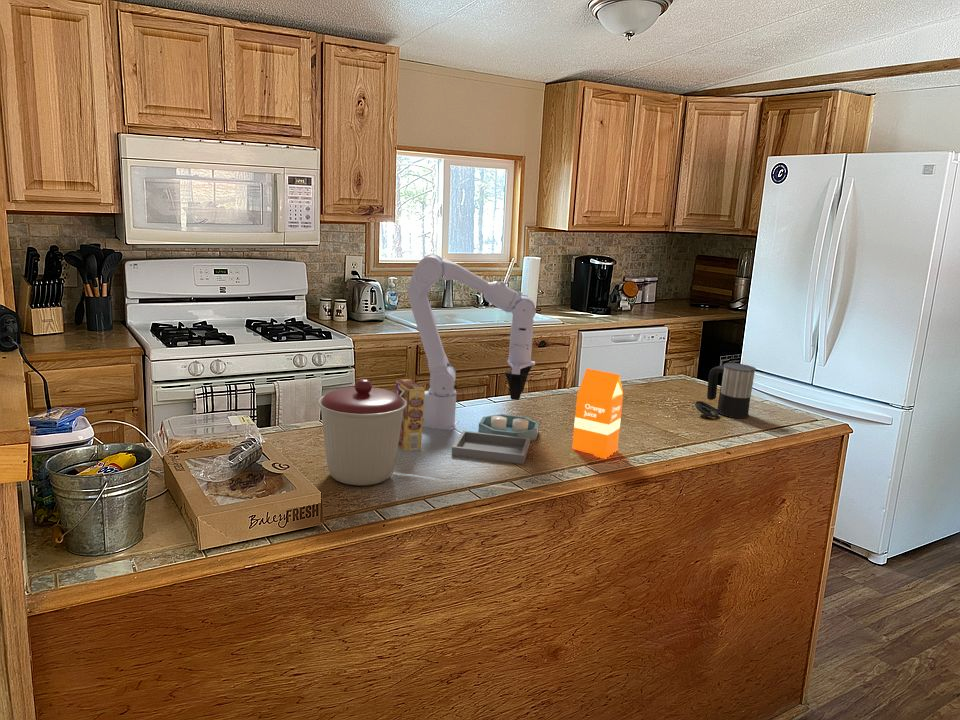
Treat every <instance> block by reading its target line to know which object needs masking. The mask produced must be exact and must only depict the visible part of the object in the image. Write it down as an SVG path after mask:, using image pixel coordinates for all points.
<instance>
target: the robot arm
mask: <svg viewBox="0 0 960 720" xmlns="http://www.w3.org/2000/svg"><path fill="white" fill-rule="evenodd" d="M442 277H443V278H442ZM441 278H442V281H453V280H454V281H457V282H459V283H461V284H463V285H465V286H466V287H469V288H470V289H473V290H475V291H476V292H479V293H481V294H483V297H484V300H485V302H487V303H489V304H490V305H493V306H494V307H496V308H498V309H500V310H501V311H504V312H505V313H511V314H512V320H511V321H512V323H511V325H510V331H509V332H510V334H509V346H508V348H509V349H508V359H507V364H508V365H509V367H510V369H511V370H506V371H504V373H505V374H504V375H505V377H506V380H507V383H508V389H509V395H510V399H511V400H515V401H519V400H520V398H521V395H522V393H524V390H525V386H526V383H527V378H528V376H529V373H530V371H531V369H532V368H533V366H535V365H536V361H534V360H532V350H533V337H534V326H533V325H534V323H535V322H534V321H535V320H534V318H535V316H536V314H537V310H536V305H535V303H534V301H533V300H532V299H531V297H529V295H527V294H523V292H522V291H520V290H518V291H516V290H514V289H512V288H510V287H509V286H507V285H506V282H505V281H503V280H501V281H498V280H495V281H491V282H488V281H487V280H485V279H484V278H482V277H480V276H479V275H477V274H476V273H474V272H471V271H470V270H468V269H467V268H465V267H463V266H461V265H460V264H458V263H456V262H454V261H451V260H449V259H447V258H442V257H440V255H438V254H432V253H430V254H427V255H425V256H424V257H423V258H422V259H421V260H420V261H418V263H417V264H416V266H414V269H413V270H412V274H411V278H410V281H409V285H408V287H407V292H406V294H407V298H408V302H409V305H410V307H411V312H412V314H413V318H414V322H415V325H416V327H417V330H418V334H419V337H420V340H421V344H422V347H423V350H424V353H425V356H426V358H427V365H428V371H429V375H430V377H429V386H430V387H429V388H428V390H425V395H424V409H423V425H422V428H429V429H438V430H449V431H453V430H454V429H455V428H456V426H457V425H458V423H459V422H460V421H459V420H458V419H457V420H456V410H457V409H456V405H457V390H456V389H455V388H454V387H455V385H456V384H455V382H456V378H457V371H456V370H455V368H454V367H453V366H452V365H451V364H450V361H449V358H448V356H447V355H446V352H445V349H444V346H443V342H442V339H441V336H440V332H439V328H438V327H437V323H436V320H435V316H434V313H433V310H432V306H431V304H430V300H429V297H428V294H429V292H430V291H431V289H432V287H433V286H434V285H435V284H436V282H438V281H439V280H440V279H441Z"/></svg>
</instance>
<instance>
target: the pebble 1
mask: <svg viewBox="0 0 960 720" xmlns="http://www.w3.org/2000/svg"><path fill="white" fill-rule="evenodd" d="M506 423H507V418H505V417H502V416H493V417H491V428H493V429H495V430H503V431H506Z"/></svg>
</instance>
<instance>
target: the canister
mask: <svg viewBox="0 0 960 720" xmlns="http://www.w3.org/2000/svg"><path fill="white" fill-rule="evenodd" d="M317 405H318V407H319V408H320V410H321V411H320V412H321V423H322V429H323V430H322V432H323V443H324V450H325V459H326V466H327V469H328V470H327V471H328V472H329V474H330V475H331V477H332V478H333V479H334V480H335V481H337V482H339V483H341V484H345V485H348V486H349V485H350V486H351V485H352V486H371V485H375V484H380V483H383V482H384V481H386V480H387V479H388V478H389V477H390V476H391V475H392V473H393V471H394V468H395V465H396V459H397V455H398V449H399V444H398V443H399V437H400V430H401V424H402V417H403V410H404V409H405V408H406V406H407V401H406V400H405V399H404V398H402V397H400V396H399V395H398V394H396V392H395V391H391V390H389V389H386V388H379V387H373V384H372V382H371V381H370V379H369V380H368V379H366V378H362V379H361V378H360V379H358V380H356V381H355V383H354V386H350V387H341V388H337V389H334V390H331V391H329V392H327V393H326V394H324V395H322V396H321V397H319V399H318V400H317Z"/></svg>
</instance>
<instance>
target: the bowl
mask: <svg viewBox="0 0 960 720" xmlns="http://www.w3.org/2000/svg"><path fill="white" fill-rule="evenodd" d="M493 416H502V417H505V418H507V423H506V431H503V430H495V429H493V428H491V417H493ZM517 418H521V419H526V420H528V421H529V423H528V430H526V431H520V432H512V426H513V419H517ZM539 429H540V422H538V421H536V420H534V419H532V418H529V417H527V416H524V415H523V416H521V415H513V414H504V413H499V414H493V415H486V416H482V418H481V420H480V421H479V423H478V430H477V431H478V433H487V434H496V435H505V436H514V437H522V438H530V442H532V441H537V437H538V434H539V431H540V430H539Z"/></svg>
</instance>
